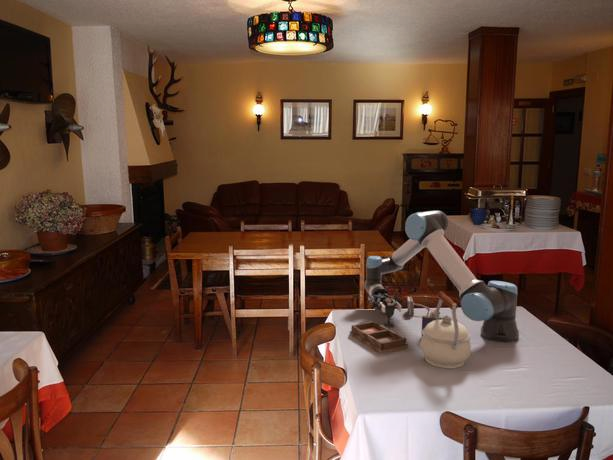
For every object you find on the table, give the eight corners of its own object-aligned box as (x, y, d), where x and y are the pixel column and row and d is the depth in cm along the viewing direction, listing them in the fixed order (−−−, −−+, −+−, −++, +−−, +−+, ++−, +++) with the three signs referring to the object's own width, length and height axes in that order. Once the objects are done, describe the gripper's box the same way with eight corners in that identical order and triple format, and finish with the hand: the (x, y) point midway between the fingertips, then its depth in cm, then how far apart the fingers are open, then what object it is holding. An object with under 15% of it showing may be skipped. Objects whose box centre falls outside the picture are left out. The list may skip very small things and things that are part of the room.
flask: (442, 335, 221) (444, 311, 219) (444, 338, 218) (445, 313, 216) (420, 335, 222) (421, 311, 220) (422, 338, 219) (423, 313, 217)
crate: (407, 347, 209) (408, 338, 208) (380, 354, 203) (381, 344, 202) (374, 329, 229) (375, 320, 228) (349, 334, 223) (349, 325, 222)
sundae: (397, 323, 236) (398, 291, 233) (394, 328, 230) (396, 295, 227) (382, 321, 238) (384, 289, 235) (379, 326, 232) (381, 294, 229)
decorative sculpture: (440, 316, 246) (441, 301, 245) (434, 322, 238) (435, 306, 236) (407, 310, 254) (408, 296, 253) (400, 316, 246) (401, 301, 244)
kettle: (479, 372, 187) (483, 306, 182) (429, 374, 186) (432, 307, 181) (455, 345, 211) (458, 285, 207) (410, 346, 210) (412, 286, 206)
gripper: (398, 300, 252) (413, 316, 229) (358, 302, 249) (370, 318, 227) (398, 285, 250) (414, 300, 228) (358, 286, 248) (370, 302, 226)
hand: (392, 309), depth 228 cm, fingers closed on sundae, 6 cm apart
